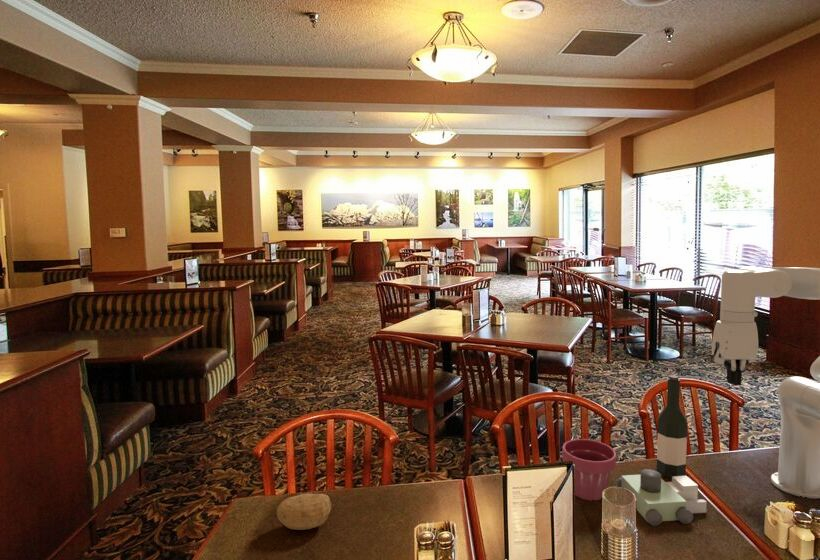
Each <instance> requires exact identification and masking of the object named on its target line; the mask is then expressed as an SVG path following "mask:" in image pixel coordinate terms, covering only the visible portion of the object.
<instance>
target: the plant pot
mask: <svg viewBox="0 0 820 560" xmlns="http://www.w3.org/2000/svg"><path fill="white" fill-rule="evenodd" d="M561 452H562V455H561V458H562V461H563V463H564V462H565V461H572V462H573V463H574V464H575V494H574V495H575V496H576V497H577V498H580V499H582V500H587V501H592V500H594V501H600V500H601V495H602V491H603V490H604V489H606V488H607V489H608V487H609V482H610V479H611V475H612V472H613V471H614V470H615V469H616V466H617V452H616V451H615V449H614V448H612V447H611V446H609V445H608V444H606V443H603V442H601V441H598V440H595V439H587V438H578V439H577V438H576V439H575V438H574V439H569V440H568V441H565V442H564V443H563V444H562V451H561ZM607 489H606V490H607Z"/></svg>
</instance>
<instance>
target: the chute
mask: <svg viewBox="0 0 820 560" xmlns="http://www.w3.org/2000/svg"><path fill="white" fill-rule="evenodd" d="M665 482H666V483H667V484H668V485H669V486H670V487H671V488H672V489H673V490H675V491H676V492H677V493H678V494H679V495H680V496H681V497H682V498H683V499H684V500H698V494H699V493H698V492H699V485H698V484H697V483H696V482H695V481H693V480H692V479H691V478H690V477H689V476H687V475H686V476H673V477H672V478H671V481H665Z"/></svg>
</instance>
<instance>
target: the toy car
mask: <svg viewBox="0 0 820 560" xmlns="http://www.w3.org/2000/svg"><path fill="white" fill-rule="evenodd" d="M666 482H667V481H665V480H664V479H663V478H662V475H661V474H660V473H659V472H657V470H654V469H649V468H644V469H642V470H641V471H640V474H626V475H621V476H620V477H618V478H617V479H616V481H615V486H616V487H617V486H618V487H623V488H626V489H628V490H630V491H632V492H633V493H634V494H635V496H636V499H637V509H636V510H637V512H638V513H639V514H640V515H641V516H642V517H643V518H644V520H645V521H646V522H647V523H649V525H651V526H652V527H658V526H660V525H661V524H662V522H669V521H679V522H681V523H682V524H684V525H688V524H689V523H692V521H693V519H694V514H706V513H707V504H708V502H707V501H706V500H705V499H697V500H684V499H683V498H682V497H681V496H680V495H679V494H678V493H677V492H676V491H675V490H673V489H672V488H671V487H670V486H669V485H668V484H667V483H666ZM618 487H617V488H618Z"/></svg>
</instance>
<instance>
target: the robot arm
mask: <svg viewBox="0 0 820 560" xmlns="http://www.w3.org/2000/svg"><path fill="white" fill-rule="evenodd" d="M720 291H721V292H720V309H719V310H720V312H719V320H717V321H716V323H715V326H714V328H713V329H714V330H713V334H712V342H711V355H712V356H714V359H713V361H714V363H716V364H719V365H723V366H724V368H725V369H726V382H727V383H728V384H730V385H732V386H741V385H742V379H743V378H742V377H743V376H742V375H743V371H745V368H746V367H747V366H748V365H749V364H751V363H755V362H756V360H757V359H756V358H757V357H758V353H759V334H758V332H759V331H758V326H757V323H756V321H755V317H758V314H759V313H758V312H757V311H756V309H755V308H756V306H755V305H756V298H771V299H772V298H773V299H775V298H780V297H783V296H784V297H788V298H789V297H790V298H796V299H803V300H804V299H805V300H811V301H812V300H813V301H814V300H819V301H820V267H774V266H755V265H754V266H751V265H748V266H747V265H745V266H741V267H738V268H737V269H728V270H725V271H723V273H722V275H721V289H720ZM809 372H810V375H811V376H812V378H813V379H812V378H807V377H804V376H799V375H797V376H796V375H795V376H793V375H792V376H789V377H786V378H785V379H783V380H782V381H781V383H780V384H779V386H778V390H777V395H778V396H777V397H778V402H779V407H780V432H779V434H780V435H779V447H778V448H779V450H778V467H777V472H774V473H772V474H771V475H770V481H771V483H772V484H773V485H774V486H775V487H776V488H777V489H779V490H781V491H783V492H785V493H787V494H790V495H793V496H797V497H800V496H802V497H801V498H805V497H807V498H806V499H820V355H819V356H818V357H817V358H816V359H815V360H814V361H813V362H812V364H811V366H810V369H809Z"/></svg>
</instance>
